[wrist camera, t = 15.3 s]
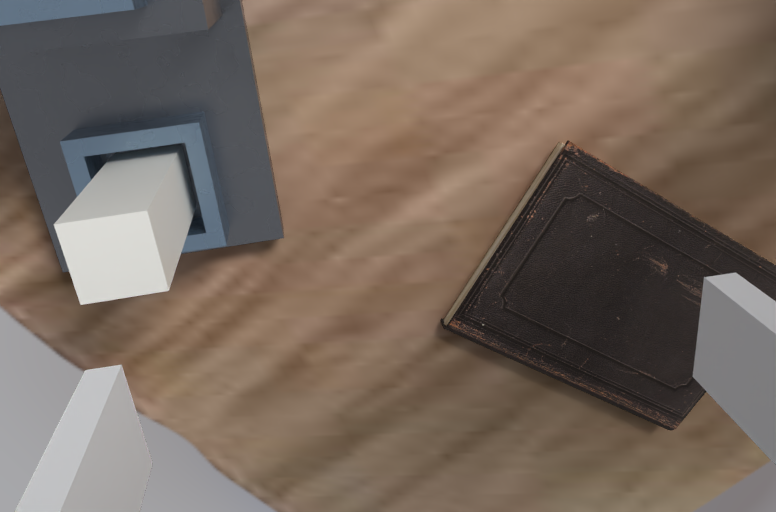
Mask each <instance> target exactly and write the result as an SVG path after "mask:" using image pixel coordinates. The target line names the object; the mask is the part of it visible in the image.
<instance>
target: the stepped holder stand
mask: <svg viewBox="0 0 776 512" xmlns="http://www.w3.org/2000/svg"><path fill="white" fill-rule="evenodd" d="M0 89H1V92H2V95H3V98H4V101H5V104H6V106H7V109H8V112H9V115H10V118H11V121H12V124H13V127H14V130H15V133H16V136H17V139H18V142H19V145H20V148H21V151H22V154H23V156H24V159H25V162H26V165H27V168H28V171H29V174H30V177H31V180H32V183H33V186H34V189H35V192H36V195H37V198H38V201H39V204H40V207H41V209H42V212H43V215H44V218H45V221H46V224H47V227H48V230H49V233H50V236H51V239H52V242H53V245H54V248H55V251H56V254H57V257H58V259H59V262H60V265H61V268H62V271H63V272H68V271H69V269H68V266H67V263H66V260H65V257H64V254H63V251H62V248H61V245H60V242H59V239H58V236H57V233H56V230H55V227H54V224H55V222H56V221H57V220H58V219H59V218H60V216H61V215H62V214H63V213H64V212H65V211H66V209H67V208H68V207H69V206H70V205H71V204H72V202H73V201H74V200H75V199H76V198H77V196H78V195H79V194H80V193H81V192H82V191H83V189H84V188H85V187H86V186H87V185H88V183H89V182H90V181H91V180H92V179H93V178H94V176H95V175H96V174H97V173H98V172H99V171H100V169H101V168H102V167H103V166H104V165H105V163H106V162H107V161H108V160H109V159H110V158H111V156H112V155H113V154H116V153H123V152H130V151H137V150H144V149H152V148H159V147H166V146H173V145H180V144H182V148H183V153H184V157H185V161H186V165H187V169H188V174H189V178H190V182H191V186H192V190H193V195H194V199H195V203H196V209H195V212H194V215H193V218H192V221H191V224H190V227H189V230H188V234H187V237H186V240H185V243H184V246H183V249H182V252H181V254H184V253H190V252H197V251H203V250H210V249H216V248H222V247H229V246H235V245H242V244H248V243H255V242H261V241H267V240H274V239H280V238H284V232H283V223H282V217H281V212H280V206H279V201H278V195H277V190H276V184H275V179H274V173H273V168H272V163H271V157H270V152H269V146H268V141H267V135H266V130H265V124H264V119H263V113H262V108H261V103H260V97H259V92H258V86H257V81H256V75H255V70H254V64H253V59H252V53H251V48H250V42H249V37H248V32H247V26H246V21H245V15H244V10H243V4H242V0H0Z"/></svg>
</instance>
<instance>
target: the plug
mask: <svg viewBox="0 0 776 512" xmlns="http://www.w3.org/2000/svg"><path fill="white" fill-rule="evenodd" d="M195 209H196V203H195V199H194V195H193V190H192V186H191V182H190V178H189V174H188V169H187V165H186V161H185V157H184V153H183V148H182V144H180V145H173V146H166V147H159V148H152V149H144V150H137V151H130V152H123V153H116V154H113V155H112V156H111V158H110V159H109V160H108V161H107V162H106V163H105V165H104V166H103V167H102V168H101V169H100V171H99V172H98V173H97V174H96V175H95V176H94V178H93V179H92V180H91V181H90V182H89V183H88V185H87V186H86V187H85V188H84V189H83V191H82V192H81V193H80V194H79V195H78V196H77V198H76V199H75V200H74V201H73V202H72V204H71V205H70V206H69V207H68V208H67V209H66V211H65V212H64V213H63V214H62V215H61V216H60V218H59V219H58V220H57V221H56V222H55V224H54V227H55V230H56V233H57V236H58V239H59V242H60V245H61V248H62V251H63V254H64V257H65V260H66V263H67V266H68V269H69V272H70V275H71V278H72V281H73V284H74V287H75V290H76V293H77V296H78V299H79V302H80V305H84V304H90V303H96V302H103V301H109V300H115V299H121V298H128V297H134V296H140V295H146V294H152V293H159V292H165V291H169V289H170V286H171V283H172V280H173V277H174V274H175V271H176V267H177V264H178V261H179V258H180V255H181V252H182V249H183V246H184V243H185V240H186V237H187V234H188V230H189V227H190V224H191V221H192V218H193V215H194V212H195Z"/></svg>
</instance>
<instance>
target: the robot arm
mask: <svg viewBox="0 0 776 512" xmlns="http://www.w3.org/2000/svg"><path fill="white" fill-rule="evenodd" d="M693 378H694V379H695V380H696V381H697V382H698V383H699V384H700V385H701V386H702V387H703V388H704V389H705V390H706V391H707V392H708V394H709V395H710V396H711V397H712V398H713V399H714V400H715V401H716V402H717V403H718V404H719V405H720V406H721V407H722V408H723V410H724V411H725V412H726V413H727V414H728V415H729V416H730V417H731V418H732V419H733V420H734V421H735V422H736V423H737V424H738V425H739V427H740V428H741V429H742V430H743V431H744V432H745V433H746V434H747V435H748V436H749V437H750V438H751V439H752V440H753V441H754V443H755V444H756V445H757V446H758V447H759V448H760V449H761V450H762V451H763V452H764V453H765V454H766V455H767V456H768V457H769V459H770V460H771V461H772V462H773V463H774V464H775V465H776V301H774V300H773V299H772V298H770V297H769V296H767V295H766V294H765V293H763V292H762V291H761V290H759V289H758V288H756V287H755V286H754V285H752V284H751V283H749V282H748V281H747V280H745V279H744V278H743V277H741V276H740V275H738V274H737V273H729V274H723V275H716V276H709V277H704V282H703V291H702V300H701V308H700V317H699V326H698V334H697V343H696V352H695V360H694V369H693ZM152 465H153V463H152V460H151V456H150V453H149V450H148V447H147V444H146V440H145V437H144V434H143V431H142V428H141V425H140V422H139V418H138V415H137V412H136V409H135V406H134V402H133V399H132V396H131V393H130V390H129V387H128V383H127V380H126V377H125V374H124V371H123V368H122V365H116V366H109V367H103V368H96V369H89V370H85V371H84V373H83V375H82V377H81V380H80V381H79V383H78V385H77V388H76V390H75V391H74V394H73V395H72V397H71V399H70V401H69V403H68V406H67V408H66V410H65V412H64V413H63V415H62V418H61V420H60V421H59V423H58V426H57V427H56V430H55V432H54V434H53V436H52V438H51V440H50V442H49V444H48V446H47V448H46V450H45V452H44V454H43V456H42V458H41V460H40V462H39V464H38V466H37V468H36V470H35V472H34V474H33V476H32V478H31V480H30V482H29V484H28V486H27V488H26V490H25V492H24V494H23V496H22V498H21V500H20V502H19V504H18V506H17V508H16V510H15V512H140V509H141V505H142V501H143V498H144V494H145V491H146V487H147V483H148V480H149V476H150V472H151V469H152Z"/></svg>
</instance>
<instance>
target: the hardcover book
mask: <svg viewBox="0 0 776 512" xmlns="http://www.w3.org/2000/svg"><path fill="white" fill-rule="evenodd" d="M729 273H737V274H738V275H740V276H741V277H743V278H744V279H745V280H747V281H748V282H749V283H751V284H752V285H754V286H755V287H756V288H758V289H759V290H761V291H762V292H763V293H765V294H766V295H767V296H769V297H770V298H772V299H773V300H774V301H776V265H774V264H772V263H771V262H769V261H767V260H766V259H764V258H762V257H761V256H759V255H757V254H756V253H754V252H752V251H751V250H749V249H747V248H746V247H744V246H742V245H741V244H739V243H737V242H736V241H734V240H732V239H731V238H729V237H727V236H726V235H724V234H723V233H721V232H719V231H718V230H716V229H714V228H713V227H711V226H709V225H708V224H706V223H704V222H703V221H701V220H699V219H698V218H696V217H694V216H693V215H691V214H689V213H688V212H686V211H684V210H683V209H681V208H679V207H678V206H676V205H674V204H673V203H671V202H669V201H668V200H666V199H664V198H663V197H661V196H659V195H658V194H656V193H654V192H653V191H651V190H649V189H648V188H646V187H644V186H643V185H641V184H640V183H638V182H636V181H635V180H633V179H631V178H630V177H628V176H626V175H625V174H623V173H621V172H620V171H618V170H616V169H615V168H613V167H611V166H610V165H608V164H606V163H605V162H603V161H601V160H600V159H598V158H596V157H595V156H593V155H591V154H590V153H588V152H586V151H585V150H583V149H581V148H580V147H578V146H576V145H575V144H573V143H571V142H570V141H567V142H566V144H563V143H560V142H559V143H558V145H557V146H556V148H555V149H554V151H553V152H552V154H551V155H550V157H549V158H548V160H547V162H546V163H545V165H544V166H543V168H542V169H541V171H540V172H539V174H538V175H537V177H536V178H535V180H534V182H533V183H532V185H531V186H530V188H529V189H528V191H527V192H526V194H525V195H524V197H523V198H522V200H521V202H520V203H519V205H518V206H517V208H516V209H515V211H514V212H513V214H512V215H511V217H510V218H509V220H508V222H507V223H506V225H505V226H504V228H503V229H502V231H501V232H500V234H499V235H498V237H497V238H496V240H495V242H494V243H493V245H492V246H491V248H490V249H489V251H488V252H487V254H486V255H485V257H484V258H483V260H482V262H481V263H480V265H479V266H478V268H477V269H476V271H475V272H474V274H473V275H472V277H471V278H470V280H469V282H468V283H467V285H466V286H465V288H464V289H463V291H462V292H461V294H460V295H459V297H458V298H457V300H456V302H455V303H454V305H453V306H452V308H451V309H450V311H449V312H448V314H447V315H446V317H445V318H444V320H443V319H441V323H442V326H443V327H444V329H446V330H448V331H451V332H453V333H455V334H457V335H459V336H462V337H464V338H466V339H468V340H471V341H473V342H475V343H477V344H479V345H482V346H484V347H486V348H488V349H490V350H493V351H495V352H497V353H499V354H502V355H504V356H506V357H508V358H510V359H513V360H515V361H517V362H519V363H521V364H524V365H526V366H528V367H530V368H533V369H535V370H537V371H539V372H541V373H544V374H546V375H548V376H550V377H552V378H555V379H557V380H559V381H561V382H564V383H566V384H568V385H570V386H572V387H575V388H577V389H579V390H581V391H583V392H586V393H588V394H590V395H592V396H595V397H597V398H599V399H601V400H603V401H606V402H608V403H610V404H612V405H614V406H617V407H619V408H621V409H623V410H626V411H628V412H630V413H632V414H634V415H637V416H639V417H641V418H643V419H645V420H648V421H650V422H652V423H654V424H657V425H659V426H661V427H663V428H665V429H668V430H674V429H676V428H677V427H678V425H679V424H680V423H681V422H682V421H683V419H684V418H685V417H686V416H687V414H688V413H689V412H690V411H691V409H692V408H693V407H694V406H695V405H696V403H697V402H698V401H699V400H700V398H701V397H702V396H703V395H704V394H705V392H706V390H705V389H704V388H703V387H702V386H701V385H700V384H699V383H698V382H697V381H696V380H695V379H694V378H693V369H694V360H695V352H696V343H697V334H698V326H699V317H700V308H701V300H702V291H703V282H704V277H709V276H716V275H723V274H729Z"/></svg>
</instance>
